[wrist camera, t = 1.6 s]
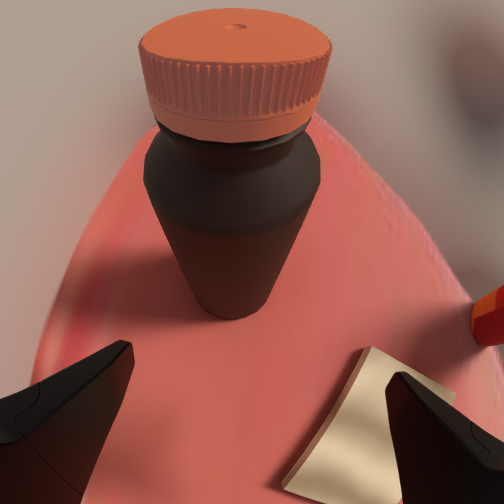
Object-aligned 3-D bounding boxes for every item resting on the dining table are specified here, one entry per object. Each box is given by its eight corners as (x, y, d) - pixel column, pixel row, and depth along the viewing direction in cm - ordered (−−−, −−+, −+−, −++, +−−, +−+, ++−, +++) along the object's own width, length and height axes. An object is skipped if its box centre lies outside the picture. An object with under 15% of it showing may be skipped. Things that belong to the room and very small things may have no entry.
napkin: (380, 511, 14) (387, 516, 13) (280, 482, 16) (283, 489, 15) (447, 393, 20) (456, 393, 18) (364, 347, 22) (372, 345, 20)
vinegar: (286, 272, 24) (392, 47, 6) (241, 336, 21) (289, 147, 3) (223, 231, 25) (219, -4, 7) (176, 288, 23) (58, 64, 4)
